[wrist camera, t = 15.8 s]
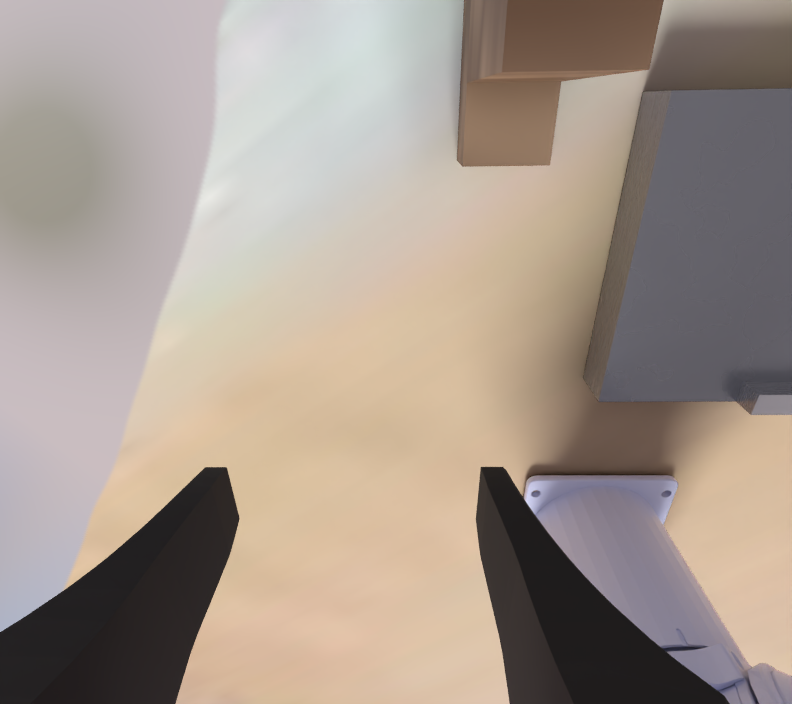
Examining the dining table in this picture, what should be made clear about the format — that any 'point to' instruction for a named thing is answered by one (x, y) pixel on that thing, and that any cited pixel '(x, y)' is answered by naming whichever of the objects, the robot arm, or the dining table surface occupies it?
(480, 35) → the tan stepped block
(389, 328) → the dining table surface
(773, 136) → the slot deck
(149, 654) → the robot arm
